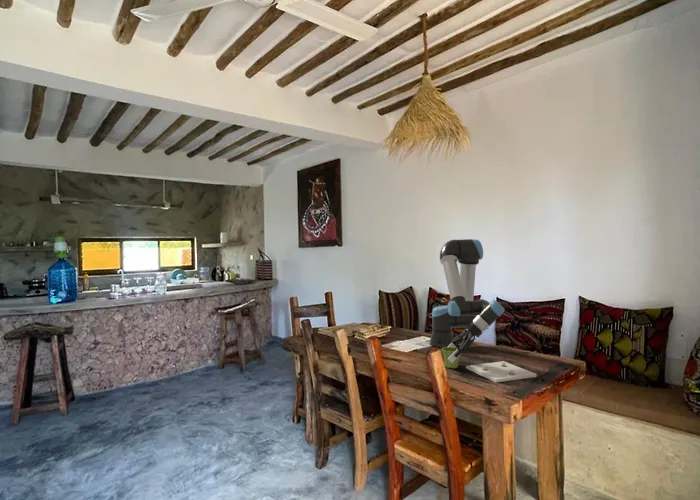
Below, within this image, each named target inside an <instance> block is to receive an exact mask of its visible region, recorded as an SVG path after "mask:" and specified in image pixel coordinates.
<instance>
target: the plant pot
mask: <svg viewBox="0 0 700 500" xmlns="http://www.w3.org/2000/svg"><path fill="white" fill-rule="evenodd" d="M457 348H458V347H444V348H441V351H442V353H443V359H444V367H446V368H447V369H448V368H450V369H457V368H458V367H459V363H460V356H459V357H458V358H457V359H456V360H455V361H454V362H453V363H451V362H450V361H449V360H448V358H449V357H450V356H451V355H452V354H453V353H454V352H455V351H456V350H458V349H457ZM458 351H459V350H458Z"/></svg>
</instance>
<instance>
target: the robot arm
mask: <svg viewBox="0 0 700 500" xmlns="http://www.w3.org/2000/svg"><path fill="white" fill-rule="evenodd" d="M482 259H484V248H483V245H482V242H481V241H480V240H478V239H472V238H470V239H469V238H468V239H464V238H463V239H451V240H449V241H447V242H446V243H444V244H443V246H442V247H441V250H440V253H439V260H440V262H439V263H440V264H441V265H443V266H442V267H443V271H444V276H445V280H446V285H447V290H448V293H449V298H450V301H449V302H448V303H447V305H439V306H435V307H434V308H432V313H431V316H432V317H431V318H432V320H431V321H432V322H431V323H432V324H431V325H432V333H431V335H430V339H429V346H431V345H432V346H431V347H433V346H436V347H435V348H439V347H440V349H442V348H444V347H455V348H457V349H458V350H459V351H458V350H456V351H455V352H454V353H453V354H452V355H451V356H450V357H449V358H448V360H449V361H450V362H451V363H453V362H454V361H455V360H456V359H457V358H458V357H459V358H460V355H462V354H465V353H466V352H467V351H468V349H469V348H470V347H471V345H472V344H473V342H474V341H475V340H476V338H479V337H480V336H482V335H483V333H484V332H486V330H489V327H490V326H491V325H492V324H493V323H495V322H496V321H497V319H498V318H500V317H501V316H502V314H503V313H504V312H505V308H504V307H503V306H502V304H501V303H500V302H498V301H497V300H495V299H493V300H491V301H490V302H489V301H488V300H486V299H483V298H482V299H481V298H480V299H477V300H474V299H475V298H474V296H475V285H476V284H475V281H476V269H477V267H476V266H477V265H478V264H480V260H482ZM458 264H460V268H459V266H458ZM459 269H460V271H459ZM453 328H466V329H464V330H463V331H462V332H461V333H460V334H458V335H457V336H454V334H453ZM459 344H460V345H459ZM458 345H459V347H458Z"/></svg>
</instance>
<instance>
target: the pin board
mask: <svg viewBox="0 0 700 500" xmlns="http://www.w3.org/2000/svg"><path fill="white" fill-rule="evenodd" d="M465 368H466V369H467V370H469V371H471V372H472V373H475V374H478V375H480V376H482V377H483V378H485V379H488V380H490V381H492V382H493V383H501V382H508V381H517V380H522V379H529V378H536V377H537V376H538V375H537V373H535V372H532V371H530V370H527V369H525V368H522V367H519V366H516V365H515V364H512V363H509V362H507V361H504V360H503V361H495V362H486V363H479V364H471V365H466V366H465Z"/></svg>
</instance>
